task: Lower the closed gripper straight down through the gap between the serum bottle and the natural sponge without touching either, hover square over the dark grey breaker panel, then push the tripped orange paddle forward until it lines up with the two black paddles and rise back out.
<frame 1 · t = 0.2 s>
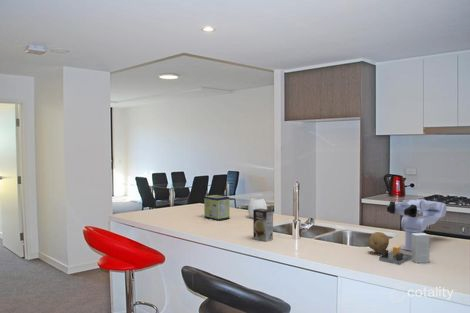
hand: (396, 210, 180), 21 cm above the counter, tool horizontal, fingers open, 7 cm apart
cup: (257, 218, 281), on the counter
coffee box: (263, 239, 217), on the counter
protein box: (216, 219, 280), on the counter
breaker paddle: (396, 250, 178), point 4 cm above the counter, slide at 0.0 cm
skincare box: (420, 262, 174), on the counter
natural sponge: (378, 253, 188), on the counter
breaker panel: (395, 259, 178), on the counter
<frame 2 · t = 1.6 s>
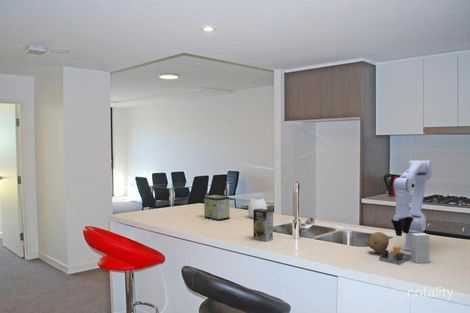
hand: (402, 234, 182), 10 cm above the counter, tool pointing down, fingers open, 7 cm apart
nothing on the counter moved.
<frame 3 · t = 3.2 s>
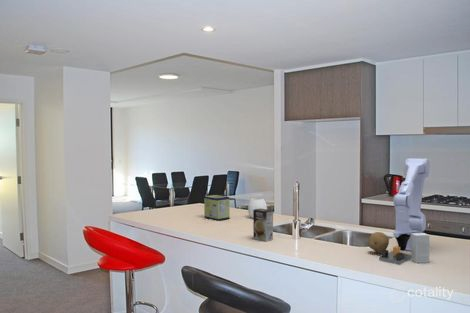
hand: (402, 250, 183), 3 cm above the counter, tool pointing down, fingers closed
nothing on the counter moved.
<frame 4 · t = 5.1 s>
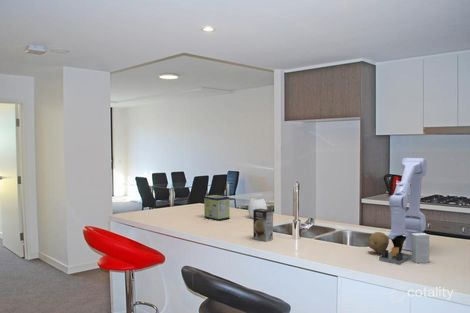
hand: (398, 252, 179), 3 cm above the counter, tool pointing down, fingers closed
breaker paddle: (395, 251, 177), point 4 cm above the counter, slide at 1.4 cm, touching gripper
everything else where it was.
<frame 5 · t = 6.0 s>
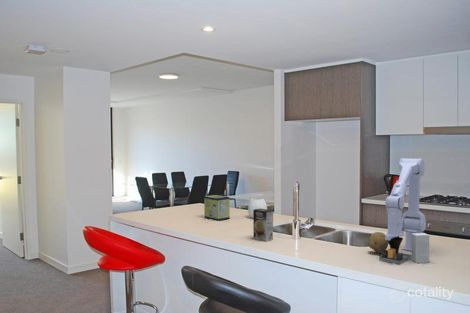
hand: (394, 253, 177), 3 cm above the counter, tool pointing down, fingers closed
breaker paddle: (391, 253, 175), point 4 cm above the counter, slide at 4.9 cm, touching gripper
everything else where it was.
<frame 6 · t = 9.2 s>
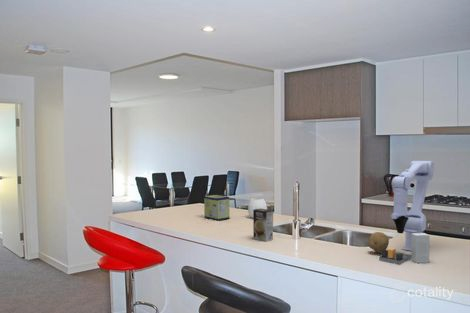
hand: (400, 232, 183), 10 cm above the counter, tool pointing down, fingers closed
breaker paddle: (391, 253, 175), point 4 cm above the counter, slide at 4.9 cm
everything else where it was.
at the end: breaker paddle slide at 4.9 cm; skincare box moved 0.2 cm from its start; natural sponge moved 0.2 cm from its start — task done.
